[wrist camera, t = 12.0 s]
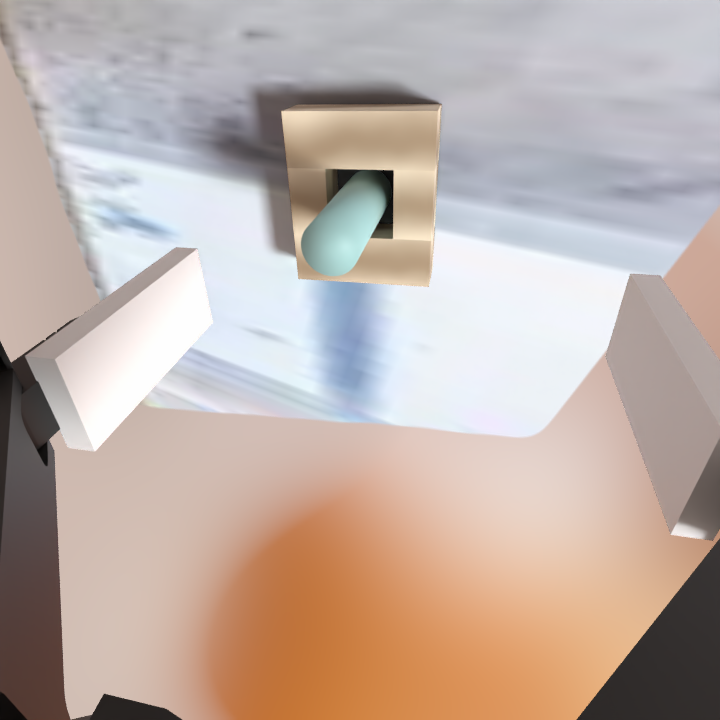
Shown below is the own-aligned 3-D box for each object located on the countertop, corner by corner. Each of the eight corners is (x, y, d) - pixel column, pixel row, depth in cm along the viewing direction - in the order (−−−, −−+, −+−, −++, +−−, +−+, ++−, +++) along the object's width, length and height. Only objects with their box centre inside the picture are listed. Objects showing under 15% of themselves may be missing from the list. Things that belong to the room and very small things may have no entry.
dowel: (346, 167, 44) (298, 217, 32) (391, 168, 43) (358, 219, 32) (348, 213, 46) (303, 274, 35) (391, 214, 45) (360, 277, 34)
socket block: (297, 104, 42) (281, 111, 38) (441, 103, 40) (437, 110, 36) (310, 262, 49) (298, 278, 46) (432, 268, 47) (428, 286, 44)
